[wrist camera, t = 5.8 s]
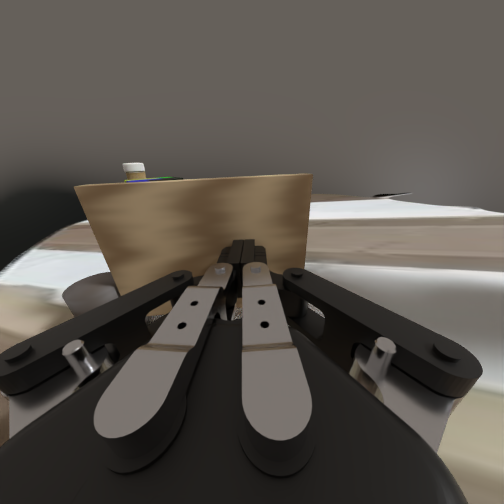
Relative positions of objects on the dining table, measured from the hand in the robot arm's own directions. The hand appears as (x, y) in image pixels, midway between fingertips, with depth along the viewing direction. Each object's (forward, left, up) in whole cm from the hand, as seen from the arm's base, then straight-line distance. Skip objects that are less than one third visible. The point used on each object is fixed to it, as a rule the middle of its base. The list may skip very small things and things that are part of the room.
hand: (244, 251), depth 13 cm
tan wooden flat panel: (+5, 0, -5) cm, 7 cm away
